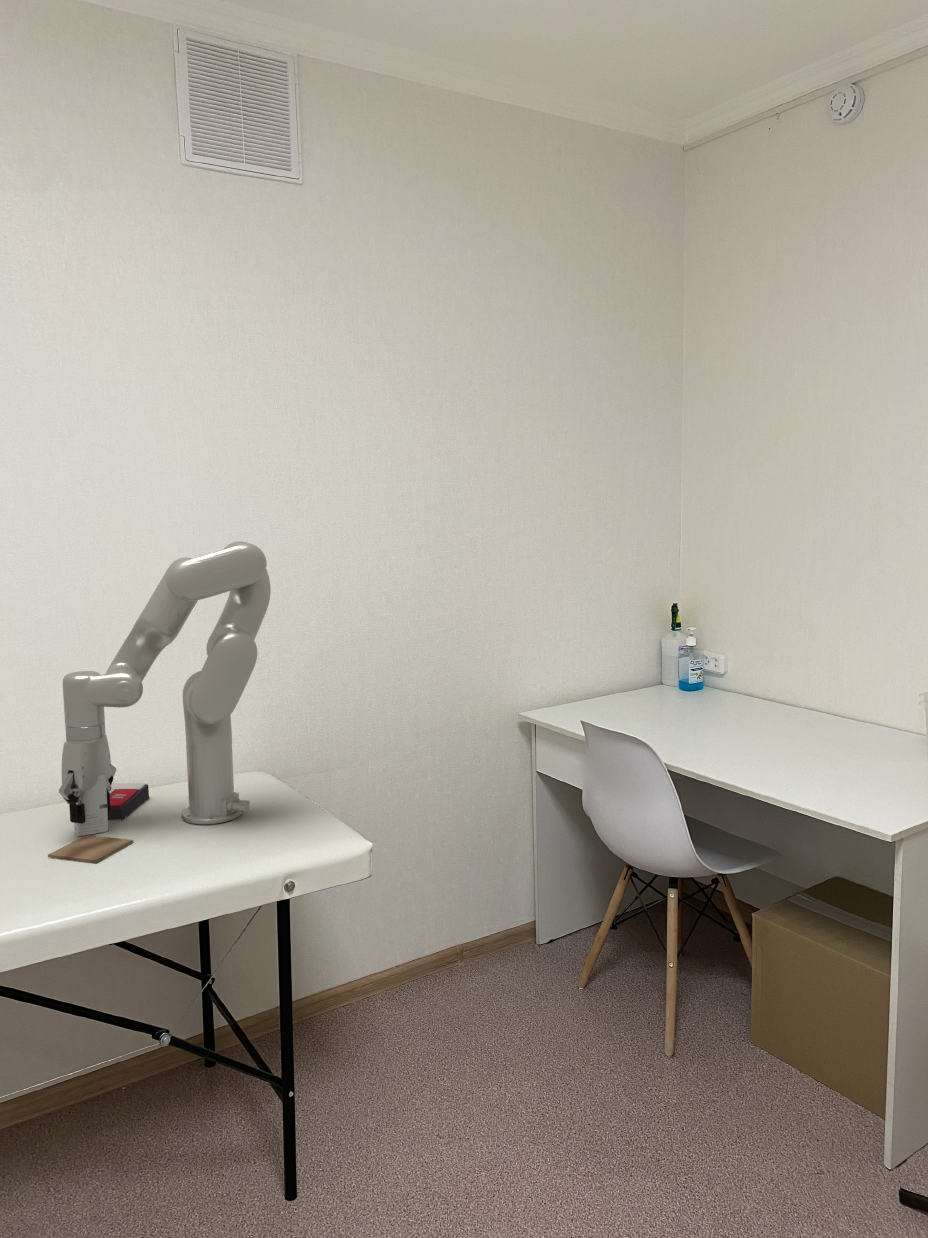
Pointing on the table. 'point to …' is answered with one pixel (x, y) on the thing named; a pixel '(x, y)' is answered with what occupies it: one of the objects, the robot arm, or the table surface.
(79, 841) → the walnut board
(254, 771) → the table surface
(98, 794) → the skincare box
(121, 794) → the black and red case
